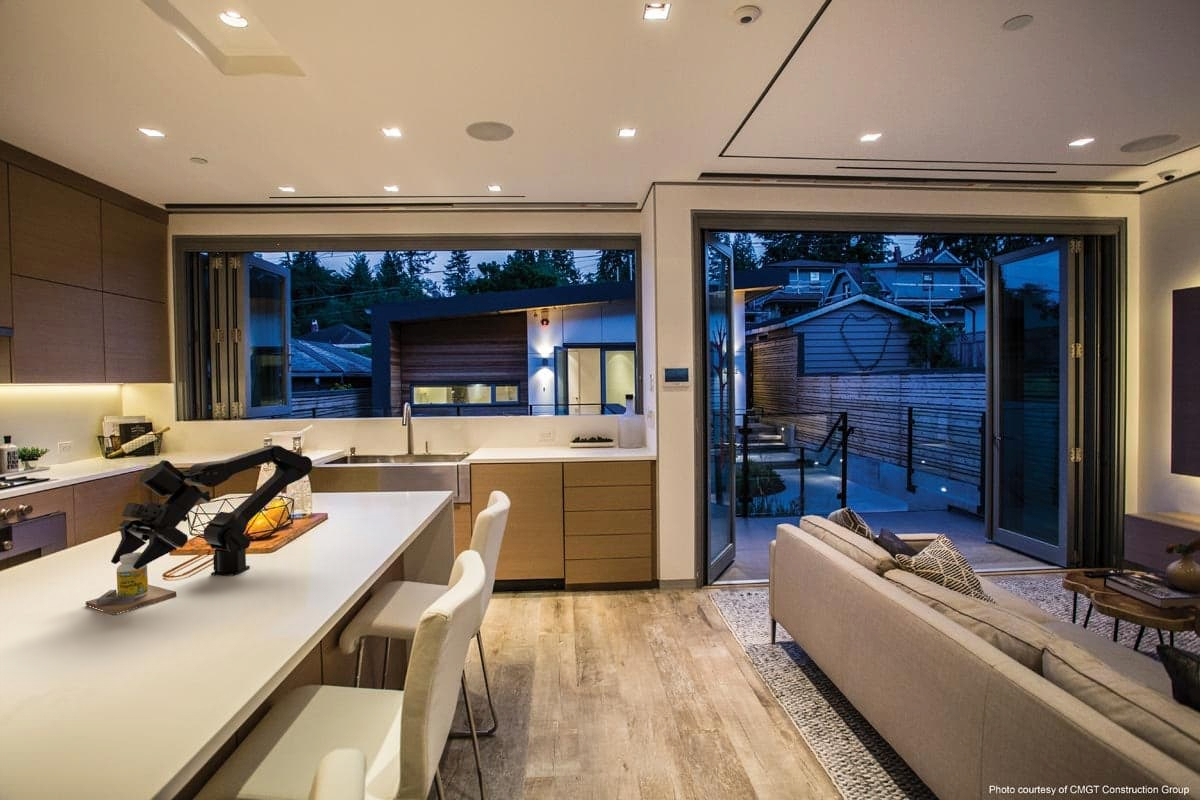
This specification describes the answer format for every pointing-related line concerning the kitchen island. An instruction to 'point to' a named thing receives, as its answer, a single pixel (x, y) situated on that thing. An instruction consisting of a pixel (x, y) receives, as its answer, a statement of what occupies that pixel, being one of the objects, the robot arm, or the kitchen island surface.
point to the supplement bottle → (131, 577)
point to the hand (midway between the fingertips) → (123, 565)
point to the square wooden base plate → (129, 600)
